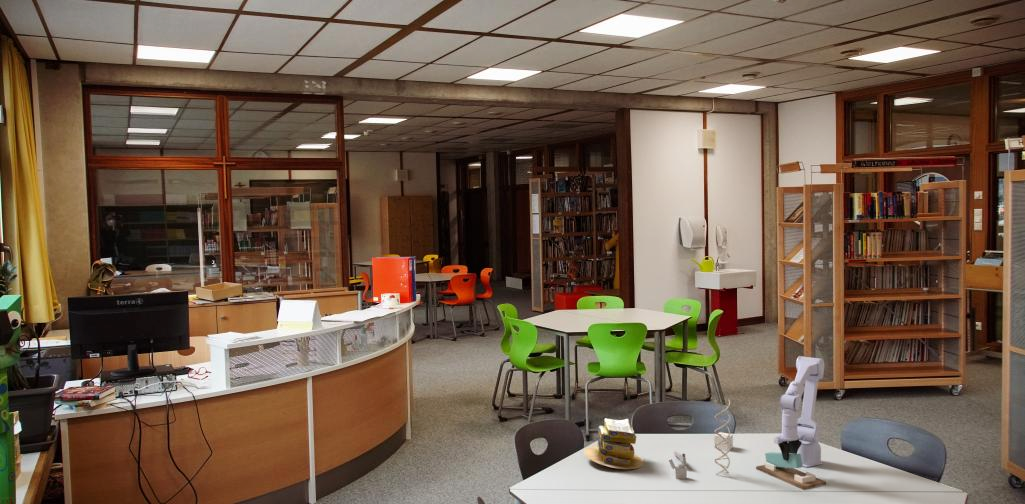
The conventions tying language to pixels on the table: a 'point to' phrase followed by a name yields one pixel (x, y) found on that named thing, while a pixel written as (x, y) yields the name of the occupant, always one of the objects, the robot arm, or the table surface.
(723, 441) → the dna model
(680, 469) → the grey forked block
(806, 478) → the end caps
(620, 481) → the table surface
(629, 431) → the stacked boxes on plate
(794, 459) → the slat
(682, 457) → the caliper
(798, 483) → the walnut board
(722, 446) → the beige cube
